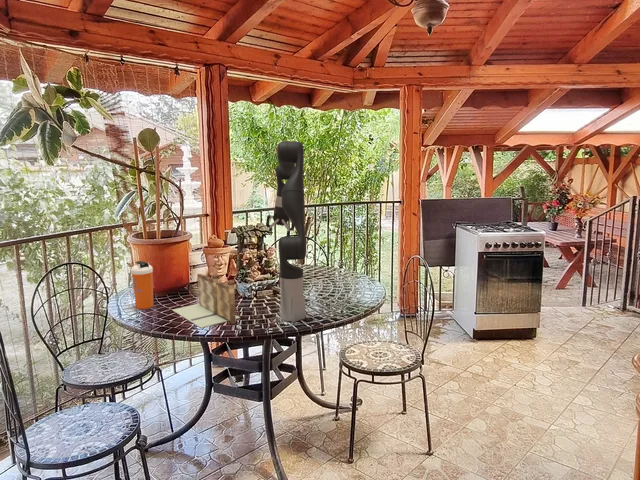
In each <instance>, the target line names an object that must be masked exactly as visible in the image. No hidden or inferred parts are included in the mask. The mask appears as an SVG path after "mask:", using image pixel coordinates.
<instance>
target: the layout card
mask: <svg viewBox="0 0 640 480" xmlns="http://www.w3.org/2000/svg"><path fill="white" fill-rule="evenodd" d="M171 311H173V312H174V313H176V314H177V315H178V316H180V317H182V318H184V319H185V320H187V321H188V322H190V323H192V324H193V325H195V326H197V327H198V328H200V329H203V328H207V327H211V326H215V325H219V324H223V323H226V322H227V323H228V322H230V320H228V319H226V318H224V317H222V316H220V315H219V314H218V315H215V313H214V312H213V311H211V310H209V309H207V308H205V307H203V306H202V305H200V304H199V303H197V304H196V303H195V304H191V305H187V306H182V307H178V308H174V309H172V310H171ZM235 315H236V314H235ZM238 319H241V317H240V316H238V315H236V320H238Z"/></svg>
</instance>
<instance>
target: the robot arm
mask: <svg viewBox="0 0 640 480" xmlns="http://www.w3.org/2000/svg"><path fill="white" fill-rule="evenodd" d="M276 149H277V150H276V152H277V153H276V155H277V160H278V165H277V166H276V167H275V176H276V177H275V178H276V183H277V184H276V185H277V187H276V197H275V201H274V202H275V203H274V211H273V215H271V214H268V215H267V216H266V221H265V227H266V226H267V228H268V232H269V231H271V232H272V233H271V235H270V234H269V236H270V237H272V234H273V227H274V226H281V227H283V226H284V227H285V228H286V230H287V231H286V236H281V237H280V238H279V239H278V246H277V247H278V257H279V258H278V259H279V260H278V261H279V272H280V284H279V291H280V292H279V293H280V296H279V297H280V318H281V320H282V321H286V322H292V323H295V322H299V321H302V320H305V319H306V297H305V296H306V295H304V270H303V269H302V267H299V266H296V265H293V264H291V263H290V262H289V261H294V260H295V261H296V260H297V261H298V260H299V261H300V260H305V258H306V257H307V237H306V227H305V226H306V225H305V191H304V190H305V187H304V156H305V155H304V153H305V151H304V144H303V143H302V142H301V141H294V140H293V141H286V140H285V141H284V140H283V141H280V142H278V144H277V148H276ZM283 180H285V181H286V182H283ZM272 219H273V222H272V224H270V221H271V220H272ZM288 222H290V223H291V227H290V225H289V223H288ZM294 230H296V234H297V236H290V235H291V232H292V231H294Z"/></svg>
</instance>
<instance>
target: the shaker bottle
mask: <svg viewBox="0 0 640 480" xmlns="http://www.w3.org/2000/svg"><path fill="white" fill-rule="evenodd" d="M135 264H136V265H135ZM135 264H134V265H133V266H132V267H131V269H130V274H131V279H132V286H133V293H134V301H135V307H136V309H138V310H147V309H151V308H153V307H154V281H153V278H154V277H153V272H154V267H153V265H151V264H150V263H149V262H146V261H143V260H138V261H135Z"/></svg>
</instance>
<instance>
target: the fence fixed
mask: <svg viewBox="0 0 640 480" xmlns="http://www.w3.org/2000/svg"><path fill="white" fill-rule="evenodd" d="M211 276H212V277H211V278H212V279H213V295H214V313H215V315H218V314H219V315H220V316H222V317H224V318H226V319H228V320H230V321H229V324H231V325H234V324H236V323H237V322H236V320H237V319H236V297H235V296H236V295H235V281H234V280H233V279H229V280H228V281H227V283H226V282H225V283H224V282H222V281H220V280H219V275H218V273H213V274H212V275H211Z"/></svg>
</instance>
